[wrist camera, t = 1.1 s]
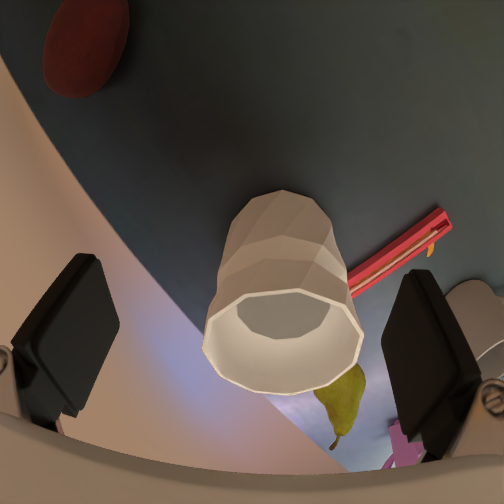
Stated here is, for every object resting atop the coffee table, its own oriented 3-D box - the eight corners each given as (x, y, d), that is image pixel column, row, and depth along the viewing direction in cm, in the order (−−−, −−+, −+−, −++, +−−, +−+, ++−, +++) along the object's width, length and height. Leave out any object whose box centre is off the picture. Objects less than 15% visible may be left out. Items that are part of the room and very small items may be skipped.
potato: (24, 100, 13) (117, 105, 17) (63, -37, 9) (155, -25, 13) (39, 93, 19) (107, 97, 22) (66, -9, 15) (134, -1, 18)
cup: (435, 289, 28) (470, 354, 21) (509, 261, 26) (552, 313, 18) (435, 335, 32) (460, 395, 24) (502, 307, 29) (534, 360, 22)
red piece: (434, 192, 22) (460, 238, 23) (427, 188, 24) (453, 231, 24) (222, 339, 32) (252, 370, 32) (229, 328, 34) (257, 358, 34)
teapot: (360, 438, 46) (367, 493, 36) (407, 397, 39) (422, 461, 29) (423, 438, 47) (433, 485, 38) (469, 400, 40) (487, 452, 31)
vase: (275, 167, 23) (275, 251, 13) (354, 235, 26) (395, 342, 16) (208, 244, 27) (171, 352, 17) (285, 297, 30) (286, 409, 20)
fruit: (356, 371, 35) (370, 459, 25) (309, 374, 36) (313, 465, 26) (363, 339, 32) (384, 436, 22) (311, 343, 33) (318, 443, 23)
